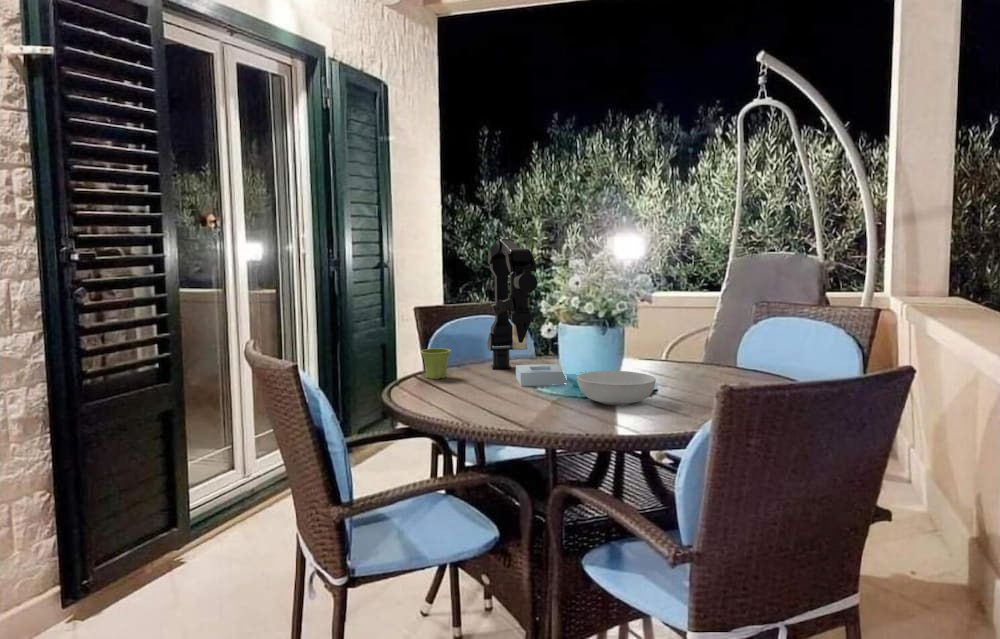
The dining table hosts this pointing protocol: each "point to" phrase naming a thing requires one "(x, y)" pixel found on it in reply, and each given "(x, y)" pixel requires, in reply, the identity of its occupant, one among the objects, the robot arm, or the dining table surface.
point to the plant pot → (436, 362)
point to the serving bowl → (616, 386)
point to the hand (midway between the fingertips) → (520, 341)
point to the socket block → (540, 374)
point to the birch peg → (516, 343)
